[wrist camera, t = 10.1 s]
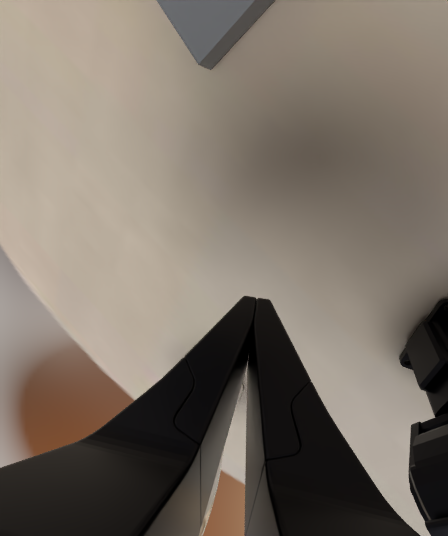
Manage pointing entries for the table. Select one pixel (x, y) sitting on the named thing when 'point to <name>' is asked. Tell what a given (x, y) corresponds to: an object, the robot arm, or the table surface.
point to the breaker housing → (212, 24)
